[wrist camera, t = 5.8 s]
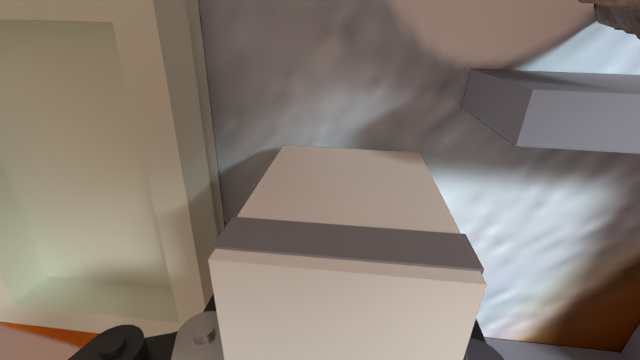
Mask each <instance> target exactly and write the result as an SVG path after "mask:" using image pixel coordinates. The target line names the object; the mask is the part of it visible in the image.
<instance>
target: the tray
mask: <svg viewBox="0 0 640 360" xmlns="http://www.w3.org/2000/svg"><path fill="white" fill-rule="evenodd" d="M224 228H225V225H224V217H223V208H222V200H221V191H220V183H219V175H218V166H217V158H216V149H215V141H214V132H213V124H212V115H211V107H210V99H209V90H208V82H207V73H206V65H205V56H204V48H203V39H202V31H201V22H200V14H199V6H198V0H0V322H8V323H17V324H25V325H33V326H41V327H50V328H58V329H66V330H74V331H83V332H91V333H99V334H100V333H102V332H104V331H106V330H108V329H110V328H113V327H116V326H119V325H135V326H137V327H139V328H140V329H141V330H142V331H143V334H144V337H145V338H146V337H151V336H157V335H162V334H168V333H173V332H176V331H179V329H180V327H181V326H182V325H183V324H184V323H185V322H186V321H187V320H188V319H190V318H191V317H193V316H195V315H197V314H199V313H203V311H204V309H205V307H206V306H207V304H208V302H209V300H210V298H211V297H212V295H213V286H212V280H211V274H210V268H209V262H208V259H209V258H210V256H211V255H212V253H213V248H212V246H213V244H214V243H215V242H216V240H217V239H218V237H219V236H220V234H221V233H222V231H223V230H224Z"/></svg>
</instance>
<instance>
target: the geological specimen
mask: <svg viewBox="0 0 640 360" xmlns="http://www.w3.org/2000/svg"><path fill="white" fill-rule="evenodd" d="M578 1H579V2H582V3H594V10H595V14H596V18H597V21H598V23H600V24H604V25H607V26H610V27H613V28H614V29H615V30H624V31H625V32H626V33H629V34H635V35H636V36H637V38H638V39H640V0H578Z"/></svg>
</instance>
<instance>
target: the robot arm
mask: <svg viewBox="0 0 640 360" xmlns="http://www.w3.org/2000/svg"><path fill="white" fill-rule="evenodd" d="M68 360H224V354H223V348H222V342H221V336H220V329H219V323H218V317H217V311H216V305H215V299H214V293H213V295H212V297H211V298H210V300H209V302H208V304H207V306H206V307H205V309H204V311H203V313H199V314H197V315H195V316H193V317H191V318H190V319H188V320H187V321H186V322H185V323H184V324H183V325H182V326H181V327H180V329H179V331H176V332H173V333H168V334H162V335H157V336H151V337H146V338H145V337H144V334H143V331H142V330H141V329H140V328H139V327H137V326H135V325H119V326H116V327H113V328H110V329H108V330H106V331H104V332H102V333H100V334H99V335H97V336H96V337H95V338H93V339H92V340H91V341H90V342H89V343H87V344H86V345H85V346H84V347H83V348H81V349H80V350H79V351H78V352H77V353H75V355H73V356H72V357H71V358H69V359H68ZM463 360H504V358H503V357H502V356H501V355H500V354H499V353H498V352H497V351H496V350H495V349H494V348H493V347H491V346H490V345H488V344H487V343H486V341H485V339H484V336H483V334H482V332H481V329H480V327H479V324H478V322H477V319H476V320H475V323H474V326H473V330H472V333H471V336H470V339H469V342H468V346H467V349H466V352H465V355H464V358H463Z"/></svg>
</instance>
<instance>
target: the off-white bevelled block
mask: <svg viewBox="0 0 640 360" xmlns="http://www.w3.org/2000/svg"><path fill="white" fill-rule="evenodd" d="M212 248H213V253H212V255H211V256H210V258H209V259H208V262H209V268H210V274H211V280H212V286H213V293H214V299H215V305H216V311H217V317H218V323H219V329H220V336H221V342H222V348H223V354H224V360H463V358H464V355H465V352H466V349H467V346H468V342H469V339H470V336H471V333H472V330H473V326H474V323H475V320H476V317H477V314H478V310H479V307H480V304H481V301H482V298H483V295H484V291H485V288H486V285H487V284H486V282H485V280H484V278H483V276H482V274H483V271H484V269H483V267H482V265H481V263H480V261H479V259H478V257H477V255H476V253H475V252H474V250H473V248H472V246H471V244H470V242H469V240H468V238H467V236H466V234H461V233H460V231H459V229H458V227H457V225H456V223H455V221H454V219H453V217H452V215H451V213H450V211H449V209H448V207H447V205H446V203H445V201H444V199H443V197H442V195H441V193H440V191H439V189H438V187H437V185H436V183H435V181H434V180H433V178H432V176H431V174H430V172H429V170H428V168H427V166H426V164H425V162H424V160H423V158H422V156H421V154H420V152H401V151H383V150H364V149H346V148H327V147H309V146H290V145H283V147H282V148H281V150H280V151H279V153H278V154H277V156H276V158H275V159H274V161H273V162H272V164H271V165H270V167H269V168H268V170H267V171H266V173H265V174H264V176H263V177H262V179H261V180H260V182H259V183H258V185H257V186H256V188H255V189H254V191H253V192H252V194H251V195H250V197H249V198H248V200H247V202H246V203H245V205H244V206H243V208H242V209H241V211H240V212H239V214H238V215H237V217H232V218H231V219H230V221H229V222H228V224H227V225H226V227H225V228H224V230H223V231H222V233H221V234H220V236H219V237H218V239H217V240H216V242H215V243H214V244H213V246H212Z"/></svg>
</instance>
